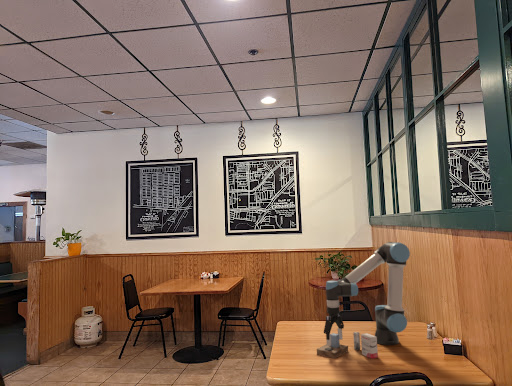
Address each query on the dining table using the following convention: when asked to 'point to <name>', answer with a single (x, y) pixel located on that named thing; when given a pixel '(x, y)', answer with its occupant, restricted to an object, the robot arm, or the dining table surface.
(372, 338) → the ink box
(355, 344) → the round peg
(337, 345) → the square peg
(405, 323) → the robot arm
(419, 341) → the dining table surface
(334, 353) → the socket block
